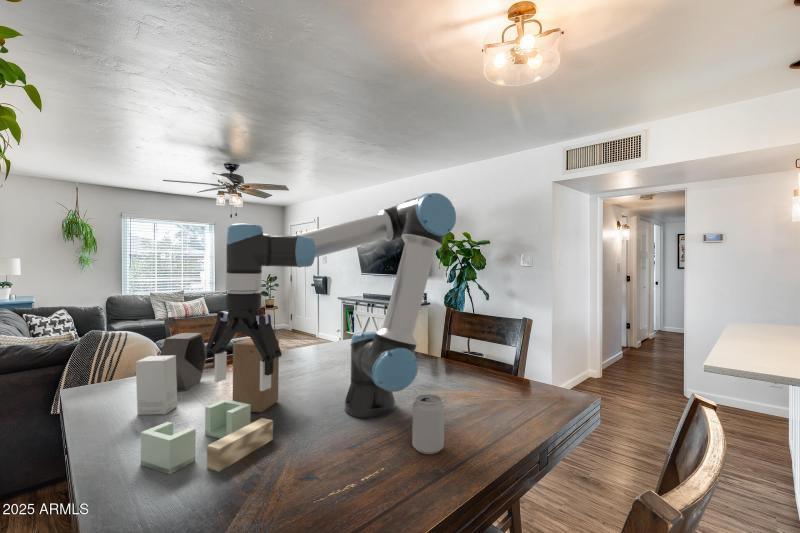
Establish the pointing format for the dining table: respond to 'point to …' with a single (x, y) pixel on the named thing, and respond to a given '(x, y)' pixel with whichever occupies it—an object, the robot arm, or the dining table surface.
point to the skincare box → (156, 385)
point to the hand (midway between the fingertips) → (242, 384)
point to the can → (428, 424)
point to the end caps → (190, 436)
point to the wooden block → (252, 377)
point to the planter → (186, 358)
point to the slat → (239, 444)
